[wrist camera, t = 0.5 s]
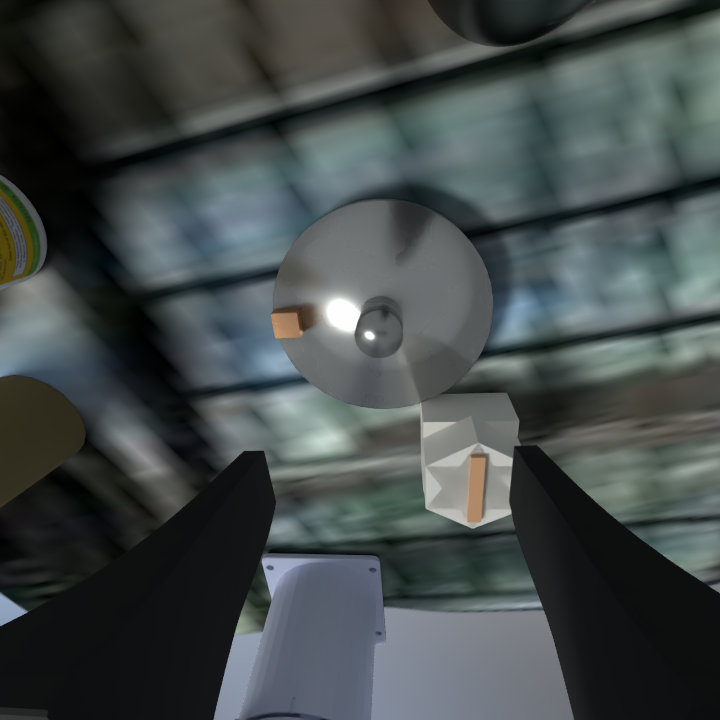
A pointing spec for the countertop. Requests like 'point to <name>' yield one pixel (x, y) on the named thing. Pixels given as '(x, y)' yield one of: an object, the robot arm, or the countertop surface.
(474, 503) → the white faceted lump
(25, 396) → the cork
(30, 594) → the countertop surface
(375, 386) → the knobbed pot lid
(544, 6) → the supplement bottle
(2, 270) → the supplement bottle
